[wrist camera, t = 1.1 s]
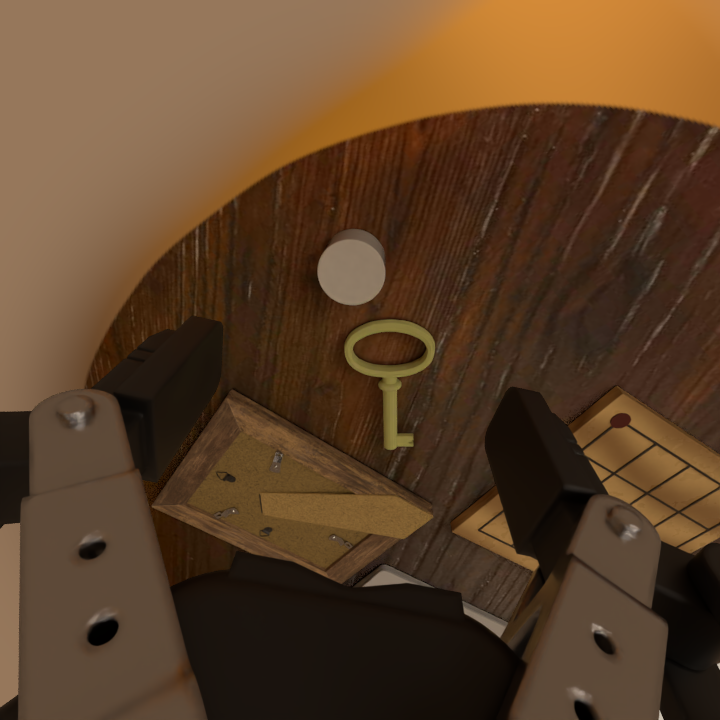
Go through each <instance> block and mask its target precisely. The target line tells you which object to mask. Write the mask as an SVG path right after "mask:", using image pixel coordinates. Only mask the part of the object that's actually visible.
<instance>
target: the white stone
mask: <svg viewBox="0 0 720 720" xmlns="http://www.w3.org/2000/svg"><path fill="white" fill-rule="evenodd" d="M385 265H386V258H385V253H384V249H383V247H382V245H381V244H380V242H379V241H378V240H377V239H376V238H375V237H374V236H373V235H372V234H370V233H368V232H366V231H364V230H360V229H348V230H344V231H341V232H339V233H338V234H336V235H335V236H333V237H332V238H331V239H330V241H329V242H328V244H327V245H326V247H325V249H324V251H323V253H322V255H321V257H320V260H319V263H318V268H317V274H318V280H319V283H320V285H321V287H322V289H323V290H324V292H325V293H326V294H327V295H328V296H329V297H330V298H332V299H333V300H335V301H337V302H339V303H342V304H345V305H359V304H363V303H366V302H368V301H370V300H371V299H373V298H374V297H375V296H376V295H377V294H378V293H379V292H380V290H381V288H382V286H383V284H384V280H385Z"/></svg>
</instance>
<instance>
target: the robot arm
mask: <svg viewBox="0 0 720 720" xmlns="http://www.w3.org/2000/svg"><path fill="white" fill-rule="evenodd" d="M222 345H223V325H222V323H221V322H219V321H215V320H210V319H206V318H201V317H197V316H191V317H190V318H189V319H187V320H186V321H185V322H184V323H183V324H182V325H181V326H180V327H179V328H178V329H177V330H176V331H174V330H170V329H167V330H164V331H162V332H159V333H157V334H155V335H152V336H150V337H148V338H147V339H146V340H145V341H144V342H143V343H142V344H141V345H139V346H138V348H137V350H136V349H135V350H134V351H133V352H132V353H131V354H129V355H128V357H127V359H124V360H123V361H122V362H120V363H119V364H118V365H117V366H116V367H115V368H114V369H113V370H111V371H110V372H109V373H108V374H107V375H106V376H105V377H104V378H102V379H101V380H100V381H99V382H98V383H97V384H96V385H95V386H94V387H92V388H91V389H77V390H71V391H66V392H62V393H59V394H56V395H53V396H51V397H49V398H47V399H45V400H43V401H42V402H41V403H39V404H38V405H37V406H36V407H35V408H34V409H33V410H32V411H24V412H22V411H21V412H0V528H1V527H2V526H3V525H4V524H12V523H20V525H21V526H20V603H19V604H20V606H19V608H20V609H19V688H18V690H19V691H18V695H17V696H16V697H14V698H13V699H12V700H10V701H9V702H7V703H6V704H5V705H3V706H2V707H0V720H658V718H659V710H660V712H661V714H662V716H663V719H664V720H720V670H719V668H718V666H717V664H716V663H717V662H718V661H720V544H718V543H710V544H708V545H706V546H705V547H704V548H703V549H702V550H701V551H700V552H699V553H697V554H696V555H695V556H694V555H692V554H690V553H688V552H685V551H683V550H681V549H679V548H677V547H674V546H672V545H670V544H668V543H665V542H663V541H661V539H660V536H659V534H658V532H657V530H656V529H655V527H654V526H653V525H652V523H651V522H650V521H649V520H648V519H647V518H646V517H645V516H644V515H643V514H642V513H641V512H640V511H638V510H637V509H636V508H634V507H633V506H631V505H630V504H628V503H627V502H625V501H623V500H621V499H619V498H616V497H614V496H610V495H609V494H608V492H607V490H606V489H605V487H604V485H603V484H602V482H601V480H600V479H599V477H598V475H597V474H596V472H595V470H594V469H593V467H592V465H591V463H590V462H589V460H588V458H587V457H585V456H584V454H585V453H584V452H583V450H582V448H581V447H580V445H578V444H577V440H576V438H575V437H574V435H573V433H572V432H571V430H570V428H569V427H568V426H567V425H566V424H565V423H564V422H563V421H562V420H561V419H560V418H559V417H558V416H556V415H555V414H554V413H552V412H551V410H550V409H549V407H548V405H547V403H546V402H545V400H544V398H543V396H542V395H541V394H540V393H539V392H535V391H531V390H526V389H522V388H517V387H510V388H509V389H508V390H507V391H506V393H505V395H504V397H503V399H502V401H501V403H500V405H499V407H498V409H497V411H496V413H495V415H494V417H493V419H492V421H491V423H490V425H489V427H488V429H487V432H486V436H485V450H486V454H487V457H488V460H489V464H490V467H491V470H492V474H493V477H494V481H495V484H496V487H497V491H498V494H499V497H500V501H501V504H502V507H503V511H504V514H505V517H506V521H507V524H508V527H509V531H510V534H511V537H512V541H513V544H514V547H515V551H516V554H520V555H525V556H530V557H535V558H537V560H538V563H539V566H538V567H537V568H536V569H535V571H534V572H533V574H532V576H531V578H530V580H529V582H528V584H527V586H526V588H525V590H524V592H523V594H522V596H521V598H520V600H519V602H518V604H517V606H516V608H515V610H514V612H513V614H512V616H511V618H510V620H509V622H508V624H507V626H506V628H505V630H504V632H503V633H502V635H501V637H500V638H499V637H498V636H497V635H496V634H495V633H494V632H492V631H491V630H490V629H488V628H487V627H486V626H484V625H483V624H482V623H480V622H478V621H477V620H475V619H473V618H472V617H470V616H468V615H466V614H464V609H463V602H462V596H461V593H459V592H454V591H448V590H443V589H438V588H432V587H427V586H421V585H416V584H411V583H400V584H389V585H377V586H366V587H347V586H344V585H342V584H340V583H338V582H336V581H334V580H331V579H329V578H327V577H325V576H323V575H321V574H319V573H317V572H314V571H312V570H310V569H308V568H306V567H304V566H302V565H299V564H297V563H295V562H293V561H287V560H282V559H277V558H271V557H266V556H261V555H255V554H250V553H245V552H239V551H237V552H236V555H235V557H234V560H233V563H232V566H231V569H229V570H219V571H214V572H209V573H204V574H201V575H198V576H195V577H192V578H189V579H187V580H184V581H182V582H180V583H178V584H175V585H173V586H171V587H170V586H169V582H168V578H167V574H166V570H165V566H164V562H163V558H162V555H161V551H160V547H159V543H158V539H157V535H156V531H155V528H154V524H153V520H152V516H151V512H150V508H149V504H148V501H147V497H146V493H145V489H144V485H143V481H142V480H146V481H151V482H156V483H157V482H158V480H159V479H160V477H161V476H162V474H163V473H164V471H165V469H166V468H167V466H168V465H169V463H170V462H171V460H172V459H173V457H174V455H175V454H176V452H177V451H178V449H179V448H180V446H181V445H182V443H183V441H184V440H185V438H186V437H187V435H188V434H189V432H190V431H191V429H192V427H193V426H194V424H195V423H196V421H197V420H198V418H199V417H200V415H201V413H202V412H203V410H204V409H205V407H206V406H207V404H208V403H209V401H210V399H211V398H212V396H213V395H214V393H215V392H216V389H217V387H218V384H219V381H220V377H221V368H222Z"/></svg>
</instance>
